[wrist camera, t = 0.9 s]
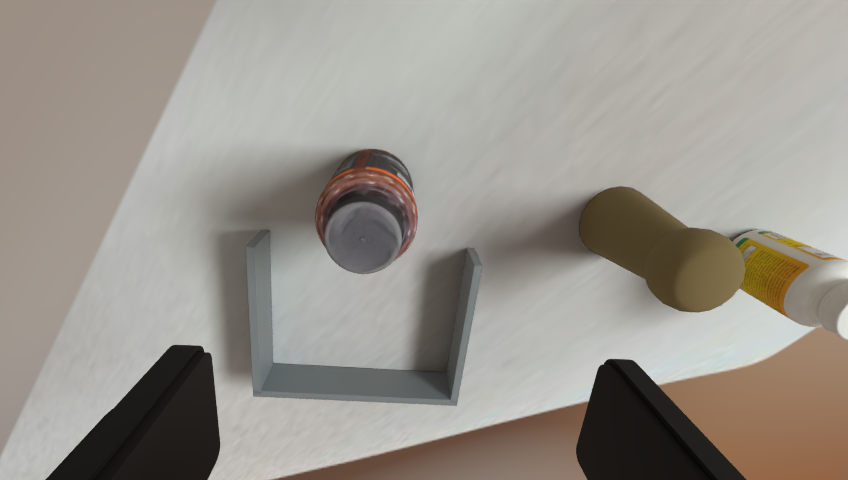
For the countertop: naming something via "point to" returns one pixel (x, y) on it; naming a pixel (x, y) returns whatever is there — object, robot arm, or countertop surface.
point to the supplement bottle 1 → (367, 212)
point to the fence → (346, 379)
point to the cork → (662, 250)
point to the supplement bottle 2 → (796, 280)
